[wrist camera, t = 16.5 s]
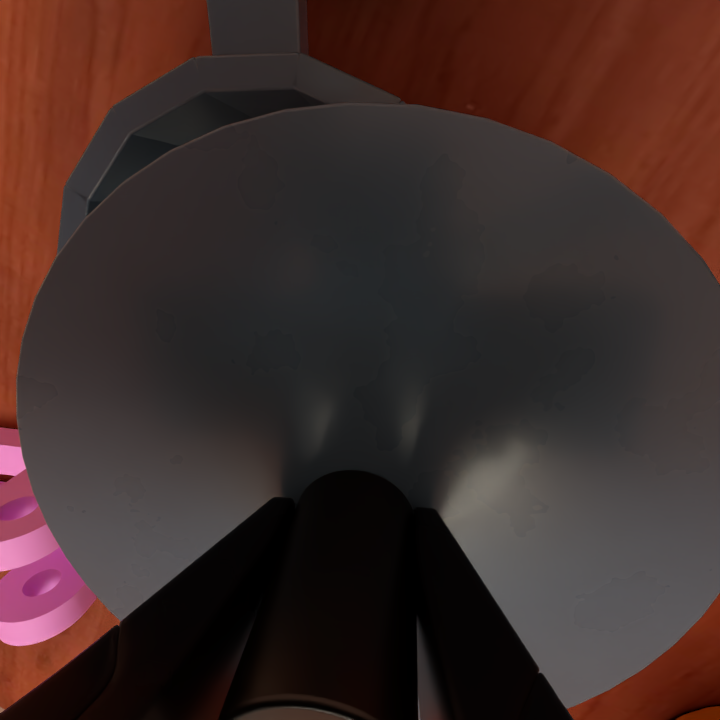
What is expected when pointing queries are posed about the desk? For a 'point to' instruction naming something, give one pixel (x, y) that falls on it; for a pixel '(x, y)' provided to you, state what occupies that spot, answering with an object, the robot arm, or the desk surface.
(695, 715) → the mug
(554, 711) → the robot arm
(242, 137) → the lid
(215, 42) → the pot
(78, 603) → the bracket
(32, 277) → the desk surface
